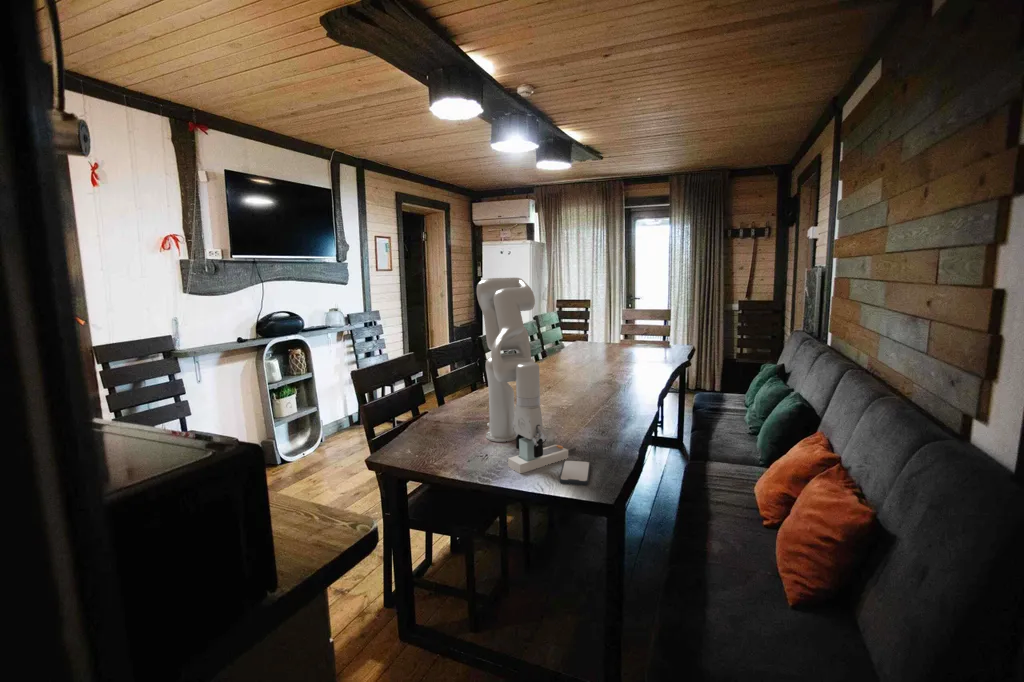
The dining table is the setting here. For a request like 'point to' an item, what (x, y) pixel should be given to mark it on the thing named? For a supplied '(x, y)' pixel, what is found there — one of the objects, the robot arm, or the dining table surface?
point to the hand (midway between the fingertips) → (529, 452)
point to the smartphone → (575, 473)
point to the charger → (526, 449)
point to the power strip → (540, 459)
